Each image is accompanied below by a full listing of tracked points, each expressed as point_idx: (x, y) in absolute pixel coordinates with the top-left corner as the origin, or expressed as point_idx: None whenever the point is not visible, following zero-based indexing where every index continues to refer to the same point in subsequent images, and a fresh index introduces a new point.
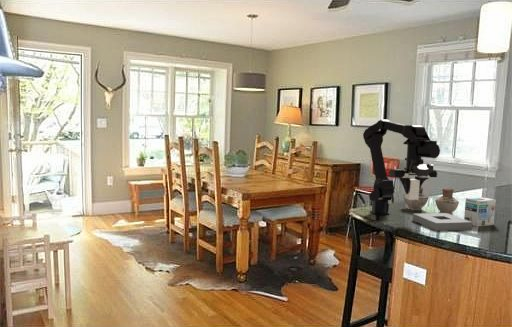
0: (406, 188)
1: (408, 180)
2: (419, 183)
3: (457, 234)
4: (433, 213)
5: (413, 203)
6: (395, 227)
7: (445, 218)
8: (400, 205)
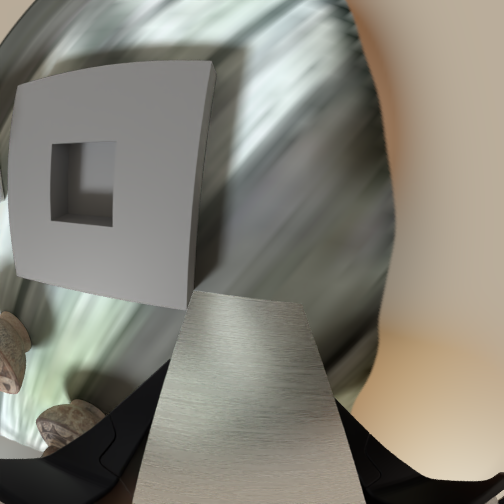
0: (350, 416)
1: (412, 499)
2: (144, 457)
3: (161, 10)
4: (70, 286)
5: (94, 424)
6: (387, 189)
7: (55, 199)
8: None
